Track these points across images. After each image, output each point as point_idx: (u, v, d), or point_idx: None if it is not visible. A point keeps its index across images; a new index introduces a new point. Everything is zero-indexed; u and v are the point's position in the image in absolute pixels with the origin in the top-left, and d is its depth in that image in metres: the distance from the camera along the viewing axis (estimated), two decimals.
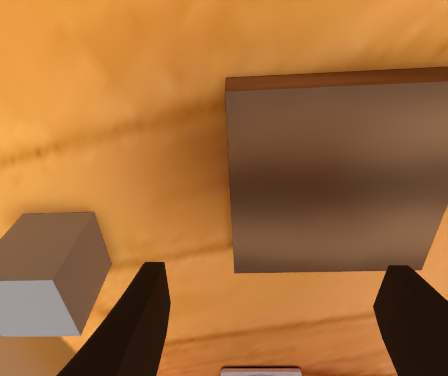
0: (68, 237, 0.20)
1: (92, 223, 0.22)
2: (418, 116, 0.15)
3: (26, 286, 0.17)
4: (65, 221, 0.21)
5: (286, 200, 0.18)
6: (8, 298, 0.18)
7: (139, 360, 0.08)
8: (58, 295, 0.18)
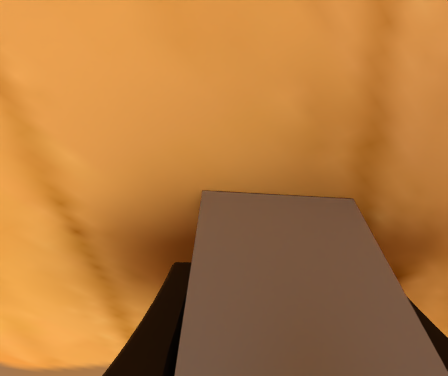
0: None
1: (217, 203, 0.10)
2: None
3: None
4: None
5: None
6: None
7: None
8: None
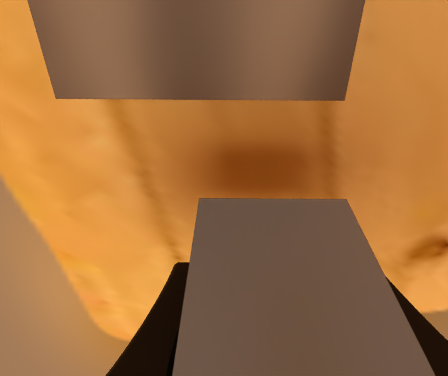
0: None
1: (213, 210, 0.10)
2: None
3: None
4: None
5: (200, 14, 0.12)
6: None
7: None
8: None
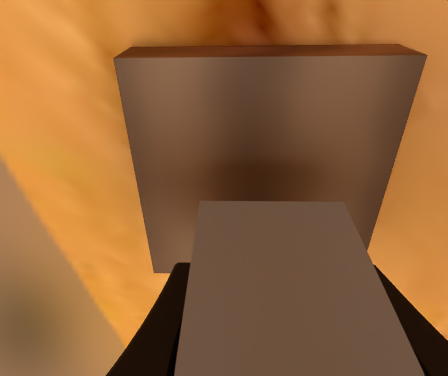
0: None
1: (213, 212, 0.11)
2: (162, 129, 0.14)
3: None
4: None
5: None
6: None
7: None
8: None
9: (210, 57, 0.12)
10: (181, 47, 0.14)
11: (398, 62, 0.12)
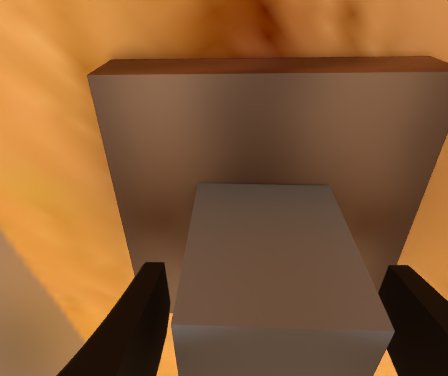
0: None
1: (210, 193, 0.12)
2: (149, 157, 0.12)
3: (194, 363, 0.08)
4: None
5: None
6: None
7: (139, 360, 0.08)
8: (226, 329, 0.07)
9: (205, 74, 0.10)
10: (171, 59, 0.12)
11: (435, 80, 0.10)
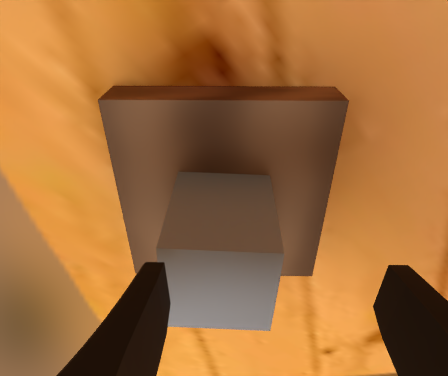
0: None
1: (186, 178, 0.17)
2: (139, 155, 0.17)
3: (169, 277, 0.13)
4: None
5: None
6: (194, 301, 0.14)
7: (139, 360, 0.08)
8: (188, 252, 0.13)
9: (176, 100, 0.15)
10: (155, 87, 0.17)
11: (326, 105, 0.15)
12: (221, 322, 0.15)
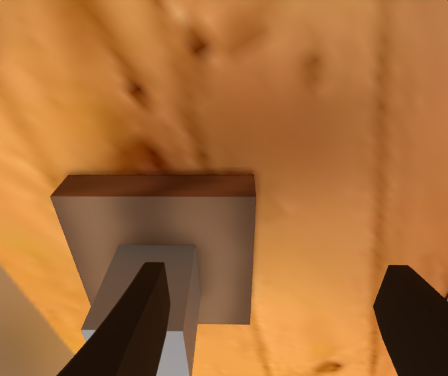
0: None
1: (123, 252, 0.20)
2: (89, 234, 0.20)
3: None
4: None
5: None
6: None
7: (139, 360, 0.08)
8: None
9: (114, 196, 0.19)
10: (102, 176, 0.21)
11: (238, 200, 0.19)
12: None
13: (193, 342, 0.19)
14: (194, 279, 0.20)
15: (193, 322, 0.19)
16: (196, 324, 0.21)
